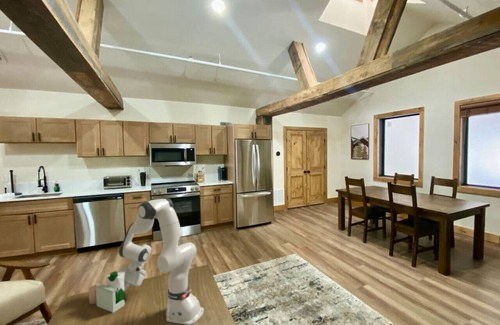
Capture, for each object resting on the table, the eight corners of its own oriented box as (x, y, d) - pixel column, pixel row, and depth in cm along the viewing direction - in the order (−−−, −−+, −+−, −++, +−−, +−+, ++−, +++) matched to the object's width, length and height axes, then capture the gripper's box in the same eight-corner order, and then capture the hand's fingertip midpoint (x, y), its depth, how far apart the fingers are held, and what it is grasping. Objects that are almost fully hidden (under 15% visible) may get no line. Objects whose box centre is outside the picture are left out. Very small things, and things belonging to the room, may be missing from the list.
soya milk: (105, 306, 139) (104, 275, 138) (114, 297, 148) (113, 267, 147) (119, 306, 139) (118, 275, 138) (127, 297, 148) (126, 267, 147)
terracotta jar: (102, 299, 146) (102, 286, 145) (93, 305, 140) (92, 291, 140) (96, 297, 148) (96, 284, 148) (87, 302, 143) (86, 289, 142)
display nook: (124, 304, 141) (124, 284, 140) (113, 312, 134) (112, 291, 133) (108, 298, 147) (107, 279, 146) (96, 306, 140) (95, 285, 139)
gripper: (121, 264, 158) (108, 285, 150) (142, 270, 150) (130, 292, 142) (127, 267, 162) (114, 287, 154) (148, 273, 154) (136, 295, 146)
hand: (122, 290), depth 148 cm, fingers closed
